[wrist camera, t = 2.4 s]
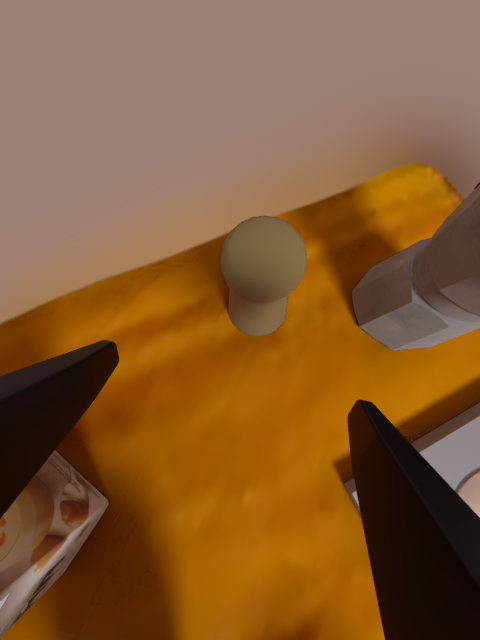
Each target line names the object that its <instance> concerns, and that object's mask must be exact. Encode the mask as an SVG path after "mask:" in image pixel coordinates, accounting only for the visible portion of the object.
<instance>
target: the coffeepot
mask: <svg viewBox="0 0 480 640" xmlns="http://www.w3.org/2000/svg"><path fill="white" fill-rule="evenodd" d="M351 293H352V300H353V307H354V312H355V315H356V318H357V320H358V324H359V327H360V328H361V329H363V330H364V331H365V332H366V333H367V334H369V335H370V336H371V337H372V338H373V339H375V340H376V341H378V342H380V343H381V344H384V345H385V346H387V347H388V348H389V349H391V350H401V349H413V348H425V347H432V346H434V345H437V344H439V343H442V342H445V341H447V340H450V339H452V338H455V337H457V336H460V335H463V334H465V333H468V332H470V331H473V330H475V329H478V328H480V182H479V183H478V184H477V186H476V187H475V189H474V191H473V192H472V193H471V194H470V195H469V196H468V197H467V198H466V199H465V200H464V201H463V202H462V203H461V204H460V205H459V206H458V207H457V208H456V209H455V210H454V211H453V212H452V213H451V214H450V216H449V217H448V218H447V219H446V220H445V221H444V222H443V224H442V225H441V226H440V227H439V229H438V230H437V231H436V233H435V234H434V235H433V237H432V238H429V239H425V240H421V241H419V242H417V243H415V244H413V245H412V246H410V247H408V248H406V249H404V250H402V251H401V252H399V253H397V254H395V255H393V256H391V257H389V258H388V259H386V260H384V261H382V262H380V263H378V264H377V265H375V266H373V267H371V268H370V269H369V271H368V272H367V273H366V274H365V276H364V277H363V278H362V279H361V280H360V282H359V283H358V285H357V286H356V287H355V288H354V290H353V291H352V292H351Z"/></svg>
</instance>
